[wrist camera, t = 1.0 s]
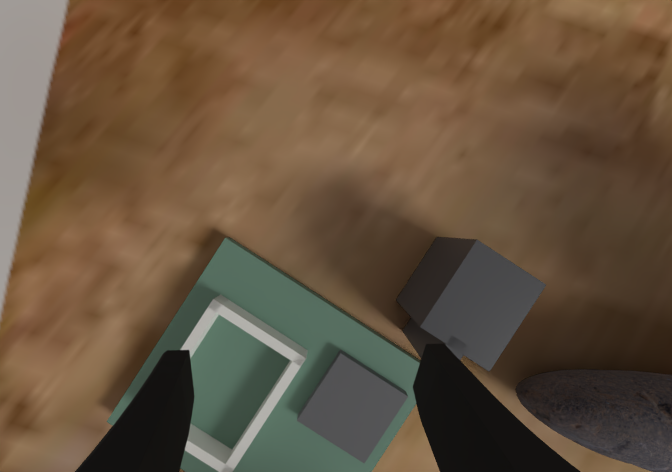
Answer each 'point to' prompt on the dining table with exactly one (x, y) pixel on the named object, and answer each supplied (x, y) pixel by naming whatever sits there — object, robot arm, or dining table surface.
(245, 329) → the board
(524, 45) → the dining table surface
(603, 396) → the perforated stone tool
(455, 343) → the plug
